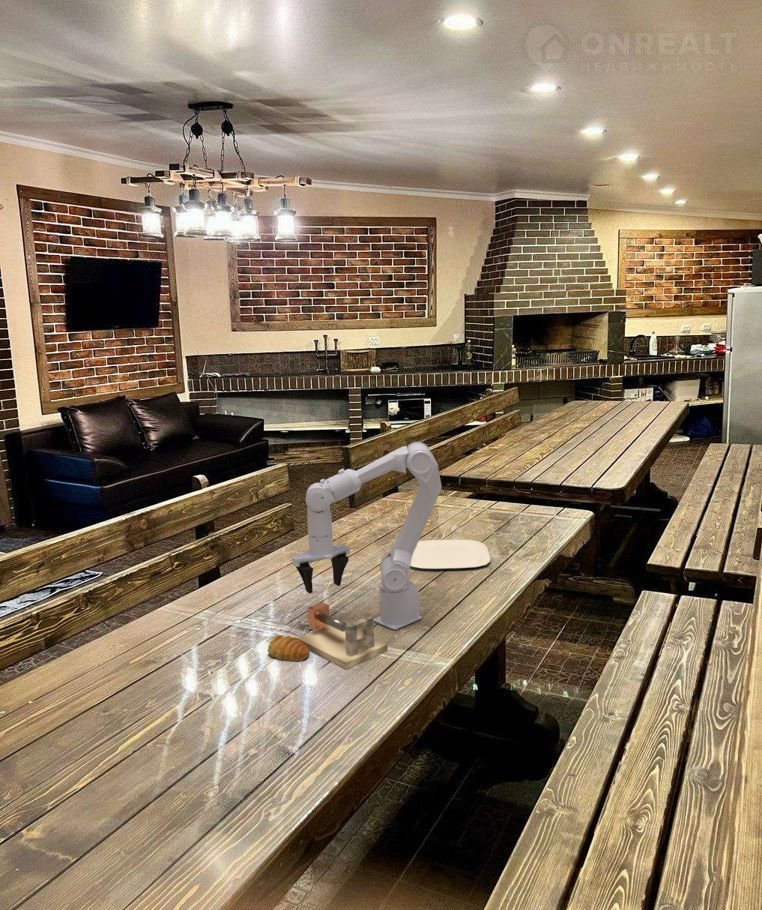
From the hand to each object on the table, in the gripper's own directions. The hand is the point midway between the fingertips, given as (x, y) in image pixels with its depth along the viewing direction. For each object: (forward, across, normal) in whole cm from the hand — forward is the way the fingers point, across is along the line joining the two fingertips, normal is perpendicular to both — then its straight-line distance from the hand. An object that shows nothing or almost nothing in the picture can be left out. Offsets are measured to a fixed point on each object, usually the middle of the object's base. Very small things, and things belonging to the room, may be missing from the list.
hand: (323, 588), depth 183 cm
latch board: (+9, -3, -13) cm, 16 cm away
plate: (+10, +53, +21) cm, 58 cm away
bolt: (+7, -3, -9) cm, 12 cm away
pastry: (+10, -14, -8) cm, 19 cm away
